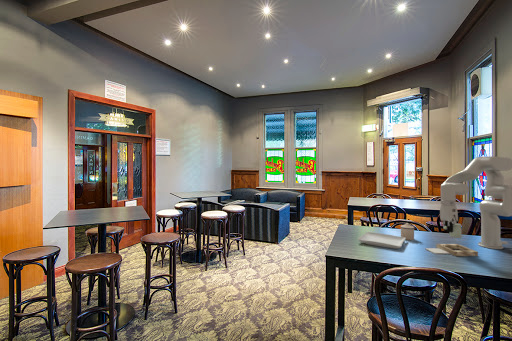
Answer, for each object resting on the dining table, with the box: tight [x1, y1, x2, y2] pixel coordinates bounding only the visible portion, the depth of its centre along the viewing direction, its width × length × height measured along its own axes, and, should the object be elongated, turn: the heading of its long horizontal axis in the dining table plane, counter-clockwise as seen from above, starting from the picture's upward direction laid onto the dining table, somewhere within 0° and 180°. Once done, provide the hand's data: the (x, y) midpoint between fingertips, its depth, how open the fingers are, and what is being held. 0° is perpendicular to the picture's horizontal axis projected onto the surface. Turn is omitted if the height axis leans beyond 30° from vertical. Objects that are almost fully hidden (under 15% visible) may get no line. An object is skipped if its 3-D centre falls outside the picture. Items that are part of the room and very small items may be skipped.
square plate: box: [357, 231, 406, 249], centre depth 182 cm, size 27×27×4 cm
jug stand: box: [436, 243, 479, 257], centre depth 162 cm, size 14×16×2 cm
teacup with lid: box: [400, 222, 415, 241], centre depth 193 cm, size 12×9×12 cm
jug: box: [442, 222, 462, 239], centre depth 162 cm, size 10×6×8 cm, turn 88°
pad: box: [425, 247, 450, 255], centre depth 162 cm, size 9×9×1 cm
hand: (448, 231), depth 162 cm, fingers closed on jug
